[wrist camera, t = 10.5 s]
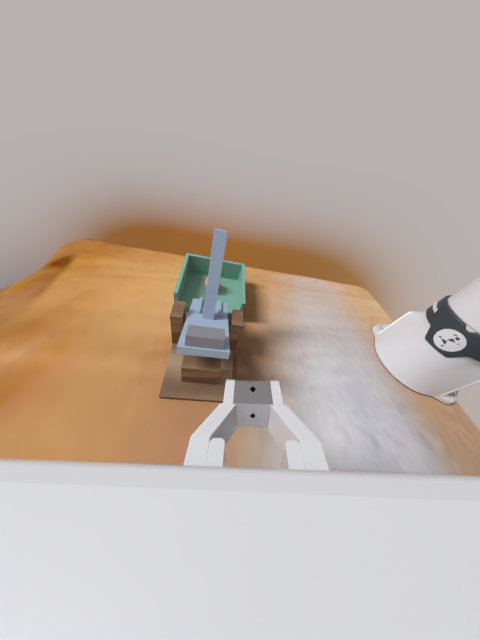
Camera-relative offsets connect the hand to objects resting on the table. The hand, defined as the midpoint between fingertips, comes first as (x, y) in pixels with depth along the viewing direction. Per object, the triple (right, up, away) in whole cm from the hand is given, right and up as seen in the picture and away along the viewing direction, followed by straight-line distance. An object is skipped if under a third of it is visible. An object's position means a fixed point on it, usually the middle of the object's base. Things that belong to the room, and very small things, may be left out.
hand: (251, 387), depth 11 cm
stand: (-7, -1, +21) cm, 22 cm away
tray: (-7, +9, +30) cm, 32 cm away
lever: (-6, +3, +17) cm, 18 cm away
